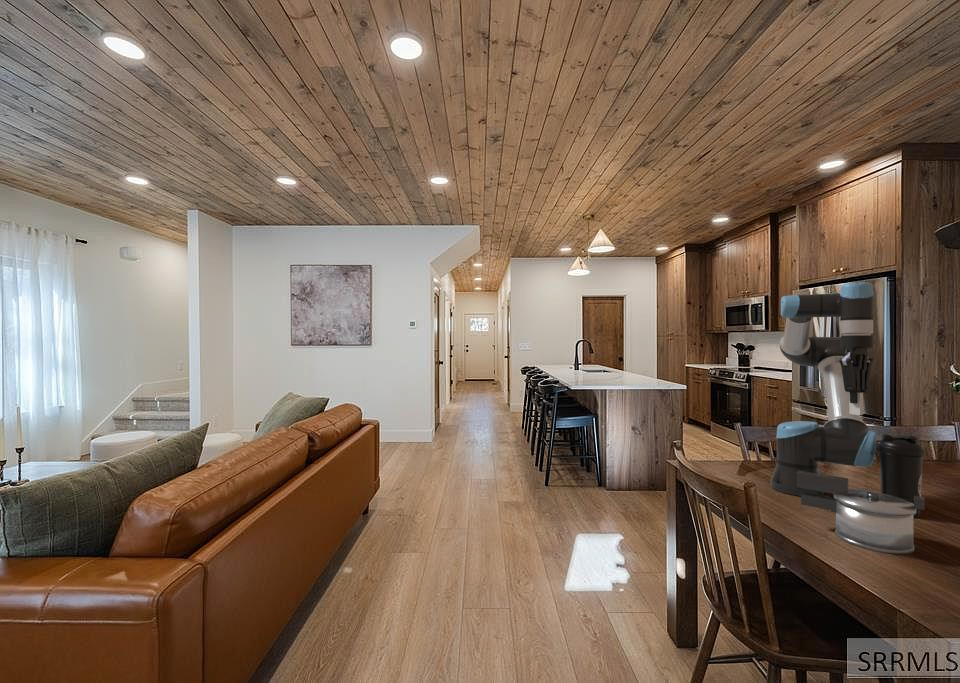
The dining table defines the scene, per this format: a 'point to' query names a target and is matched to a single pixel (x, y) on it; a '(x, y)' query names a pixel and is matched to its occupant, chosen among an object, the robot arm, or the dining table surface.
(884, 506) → the lid
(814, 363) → the robot arm
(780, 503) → the dining table surface
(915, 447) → the water bottle
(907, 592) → the dining table surface
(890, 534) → the pot
